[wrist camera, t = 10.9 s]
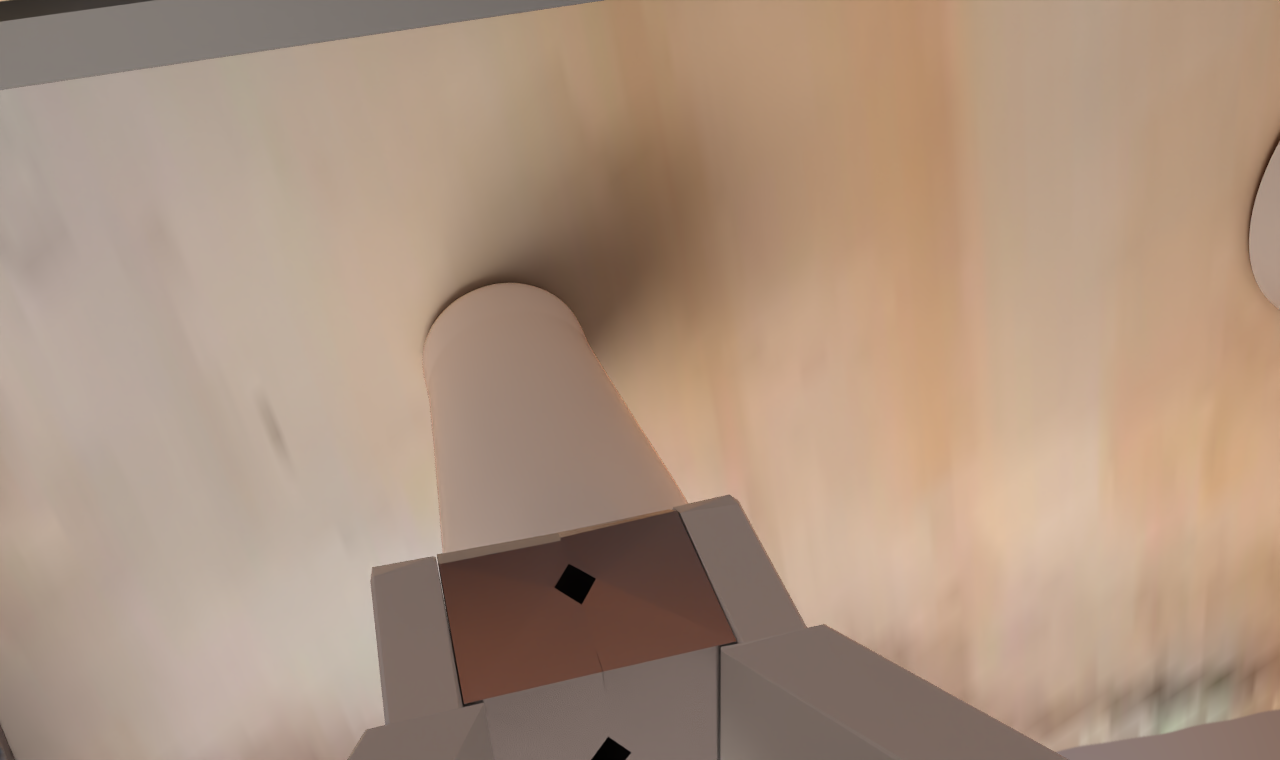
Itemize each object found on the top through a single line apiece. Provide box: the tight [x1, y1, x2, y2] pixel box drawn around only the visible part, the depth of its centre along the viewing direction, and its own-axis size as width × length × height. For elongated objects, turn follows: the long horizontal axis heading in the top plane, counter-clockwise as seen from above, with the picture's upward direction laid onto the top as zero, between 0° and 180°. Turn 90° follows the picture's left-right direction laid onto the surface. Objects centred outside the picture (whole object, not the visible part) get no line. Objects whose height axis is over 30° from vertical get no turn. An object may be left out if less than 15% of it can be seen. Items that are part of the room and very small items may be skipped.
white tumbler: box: [422, 283, 688, 553], centre depth 32 cm, size 7×7×15 cm
